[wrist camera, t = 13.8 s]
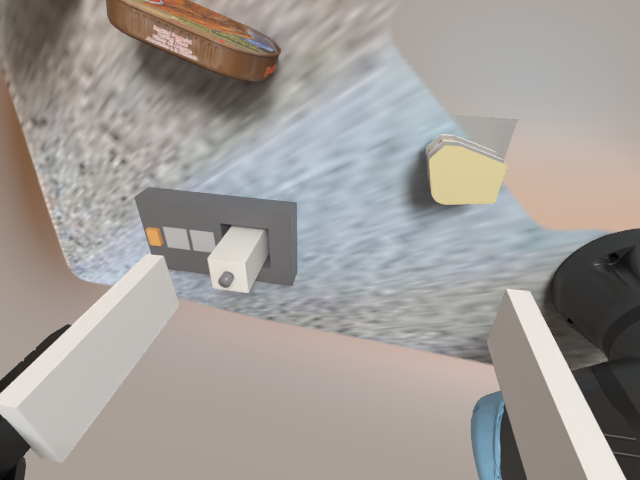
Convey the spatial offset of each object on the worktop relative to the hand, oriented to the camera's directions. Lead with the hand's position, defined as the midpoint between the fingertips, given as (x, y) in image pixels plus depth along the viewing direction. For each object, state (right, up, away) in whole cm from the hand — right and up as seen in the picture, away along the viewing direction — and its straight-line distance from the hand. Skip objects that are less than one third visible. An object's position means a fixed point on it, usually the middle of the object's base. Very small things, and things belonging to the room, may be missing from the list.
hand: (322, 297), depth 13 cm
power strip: (-13, +3, +33) cm, 36 cm away
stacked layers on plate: (+14, +11, +24) cm, 30 cm away
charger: (-9, +3, +33) cm, 34 cm away
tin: (-10, +23, +21) cm, 33 cm away
